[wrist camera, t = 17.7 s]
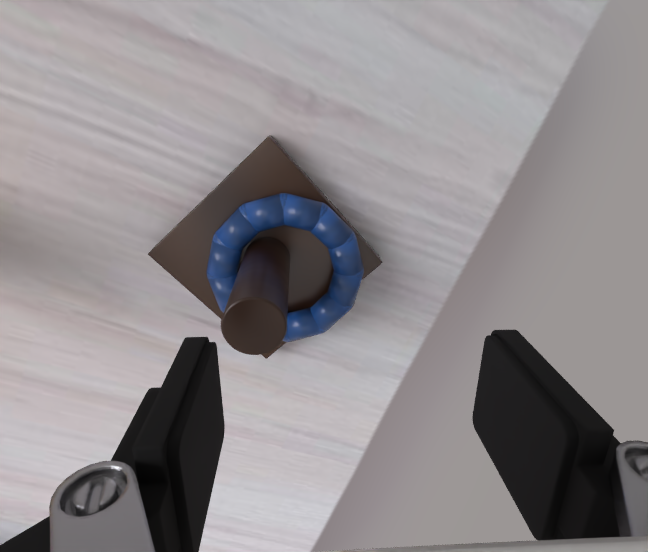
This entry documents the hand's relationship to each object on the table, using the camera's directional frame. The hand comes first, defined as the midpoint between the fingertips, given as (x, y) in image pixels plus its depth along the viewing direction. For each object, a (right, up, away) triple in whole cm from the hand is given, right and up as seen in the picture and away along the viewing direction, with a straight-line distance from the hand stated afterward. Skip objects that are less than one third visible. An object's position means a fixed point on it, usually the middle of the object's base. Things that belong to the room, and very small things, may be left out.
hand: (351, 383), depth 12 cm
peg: (-4, +4, +10) cm, 12 cm away
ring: (-3, +3, +9) cm, 10 cm away
